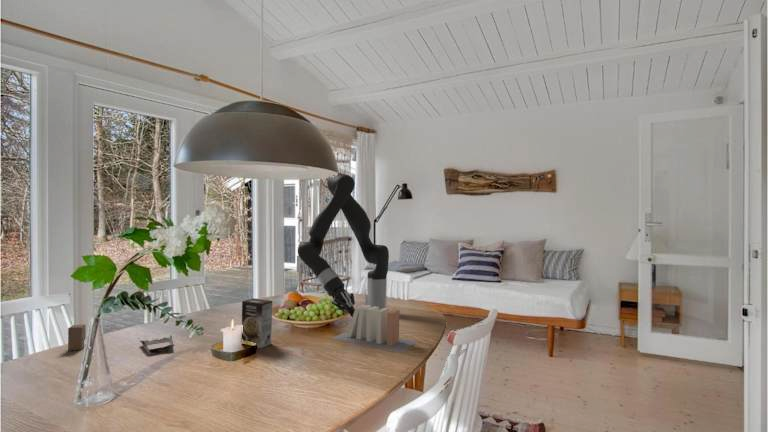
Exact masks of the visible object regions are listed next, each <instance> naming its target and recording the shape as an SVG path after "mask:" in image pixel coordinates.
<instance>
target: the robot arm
mask: <svg viewBox="0 0 768 432" xmlns="http://www.w3.org/2000/svg"><path fill="white" fill-rule="evenodd" d="M333 176H334V177H330V176H329V175H328V177H327V181H326V184H327V188H328V190H329V192H330V193H331V195H332V198H331V200H330V202H329V203H328V204H327V205H326V206H325V207H324V208H323V209H322V210H321V211H320V212H319V213H318V214H317V216H316V217H315V218H314V221H313V222H312V225H311V228H310V230H309V232H308V235H309V236H310V238H309V241H308V242H307V241H305V242H301V243H300V244H299V245H298V247H297V254H298V257H299V258H300V260H301V261H302V262H303V263H304V264H305V265H306V266H307V267H308V268H309V269H310V270H311V271H312V273H313V274H314V276H315V278H317V280H318V282H319V283H320V285H321V286H322V288H323V290H324V291H325V293H326V294H327V295H328V296H329V297H331V298H332V301H331V304H332V305H333V306H335V307H336V308H338V309H340V310H342V311H347V313H348V314H349V315H350V316H351V318H352V317H353V314H354V311H355V308H354V306H355V304H356V301H355V296H354V293H353V292H352V293H349V292H348V291H347V290H346V289H345V284H344V282H343V281H342V279H341V278H340V277H339V275H338V274H337V273H336V271H335V270H334V269H333V268H332V267H331V265H330V264H329V263H328V262H327V260H326V259H325V258H323V257H321V256H320V255H321V253H322V250H323V247H324V242H325V238H326V236H327V234H328V232H329V230H330V228H331V226H332V224H333V222H334V220H335V218H337V215H338V214H339V212H340V210H341V212H342V213H343V215H344V217H345V219H346V221H347V224H348V225H349V228H350V229H351V231H352V232H353V234H354V237H355V238H356V240H357V242H358V244H359V248H360V249H361V252H362V255H363V257H364V259H365V261H366V262H367V263H368V264H373V265H375V269H372V270H369V271H368V272H367V282H366V283H367V288H366V290H367V292H366V293H365V302H364V303H365V304H364V305H365V306H366V305H370V306H372V307H374V306H376V307H379V310H381V309H383V308H387V277H388V276H387V275H388V271H389V260H390V259H389V258H390V252H389V248H388V247H387V246H386V245H383V244H374V243H373V242H372V240H371V238H370V233H371V232H370V231H371V227H372V226H371V225H372V224H371V221H370V218H369V217H368V215H367V212H366V211H365V209H364V208H363V207H362V205H360V204H359V203H358V201H357V200H356V199H355V198H354V196H353V195H352V193H353V191H354V189H355V184H356V182H355V180H354V177H352V176H351V175H348V174H345V173H342V172H338V175H337V176H335V175H333ZM372 307H371V308H372Z"/></svg>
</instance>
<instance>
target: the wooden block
mask: <svg viewBox="0 0 768 432" xmlns="http://www.w3.org/2000/svg"><path fill="white" fill-rule="evenodd" d="M86 327H87V326H86V324H84V323H82V324H72V325H71V326H70V327H68V330H67V335H68V338H67V350H68V351H69V352H70V351H72V350H73V351H82V350H83V349H84V348H85V347H84V340H85V338H86V330H87V329H86Z"/></svg>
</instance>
